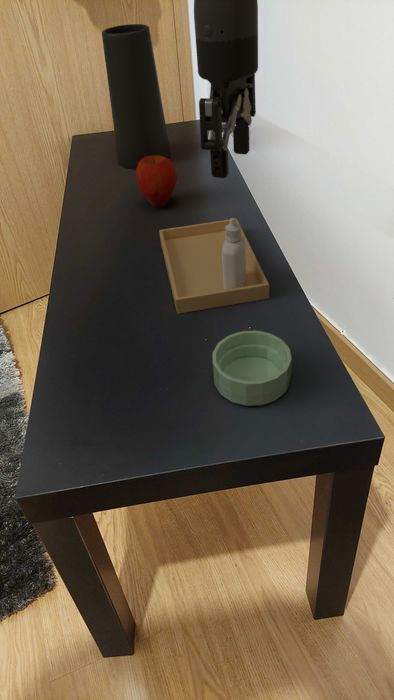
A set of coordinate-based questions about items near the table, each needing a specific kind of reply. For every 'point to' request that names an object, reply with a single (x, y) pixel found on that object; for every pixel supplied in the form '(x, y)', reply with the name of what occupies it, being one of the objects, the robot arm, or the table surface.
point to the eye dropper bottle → (233, 257)
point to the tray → (207, 268)
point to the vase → (134, 94)
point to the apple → (156, 179)
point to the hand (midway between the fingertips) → (231, 164)
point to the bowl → (252, 367)
